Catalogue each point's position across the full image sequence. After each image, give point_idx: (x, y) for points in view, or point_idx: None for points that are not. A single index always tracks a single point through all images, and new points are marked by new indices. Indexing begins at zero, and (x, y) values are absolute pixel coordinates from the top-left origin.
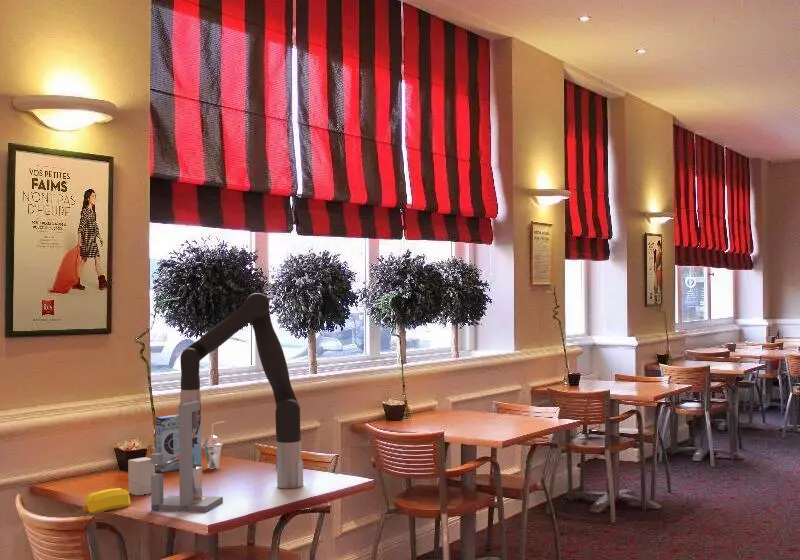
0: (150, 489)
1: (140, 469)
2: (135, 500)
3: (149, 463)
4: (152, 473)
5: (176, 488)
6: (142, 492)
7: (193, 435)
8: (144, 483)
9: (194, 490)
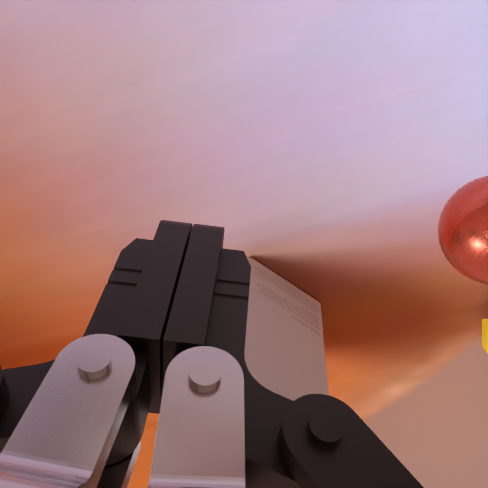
0: (272, 283)
1: None
2: (416, 288)
3: None
4: (257, 343)
5: (135, 186)
6: (305, 300)
7: (131, 388)
8: (297, 328)
9: None
